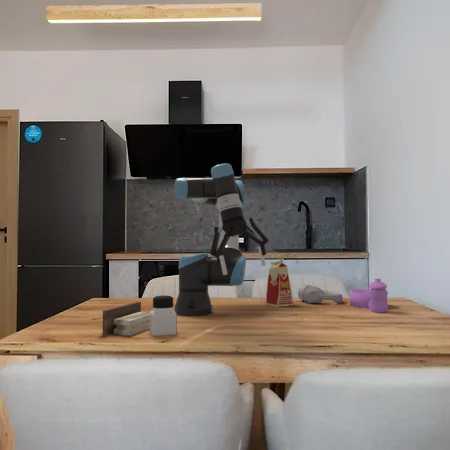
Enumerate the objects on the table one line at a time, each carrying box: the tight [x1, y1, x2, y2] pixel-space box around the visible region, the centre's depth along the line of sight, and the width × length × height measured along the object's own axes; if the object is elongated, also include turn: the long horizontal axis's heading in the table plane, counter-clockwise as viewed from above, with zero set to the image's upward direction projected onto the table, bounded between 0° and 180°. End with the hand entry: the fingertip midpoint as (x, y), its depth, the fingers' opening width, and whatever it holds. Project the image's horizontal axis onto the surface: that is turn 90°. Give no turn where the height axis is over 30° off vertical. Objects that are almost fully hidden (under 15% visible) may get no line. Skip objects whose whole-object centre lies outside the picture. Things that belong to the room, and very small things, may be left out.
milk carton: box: [265, 259, 294, 308], centre depth 181 cm, size 9×9×20 cm
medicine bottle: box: [149, 294, 178, 337], centre depth 123 cm, size 7×7×12 cm
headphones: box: [297, 284, 344, 304], centre depth 190 cm, size 18×8×20 cm
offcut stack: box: [114, 311, 150, 335], centre depth 126 cm, size 6×14×4 cm, turn 159°
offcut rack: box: [102, 301, 150, 338], centre depth 126 cm, size 10×18×8 cm, turn 159°
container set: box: [349, 278, 389, 314], centre depth 172 cm, size 25×15×13 cm, turn 177°
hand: (244, 270), depth 136 cm, fingers open, 13 cm apart
